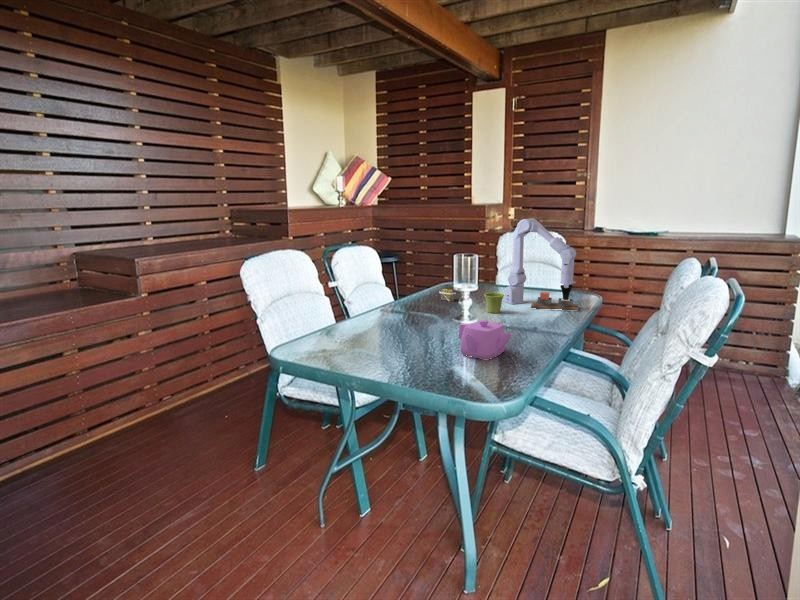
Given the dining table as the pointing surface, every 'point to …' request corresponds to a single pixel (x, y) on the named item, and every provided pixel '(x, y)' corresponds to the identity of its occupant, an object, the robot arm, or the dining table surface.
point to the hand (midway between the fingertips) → (565, 299)
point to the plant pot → (493, 302)
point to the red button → (544, 295)
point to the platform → (447, 295)
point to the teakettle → (483, 339)
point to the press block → (554, 304)
